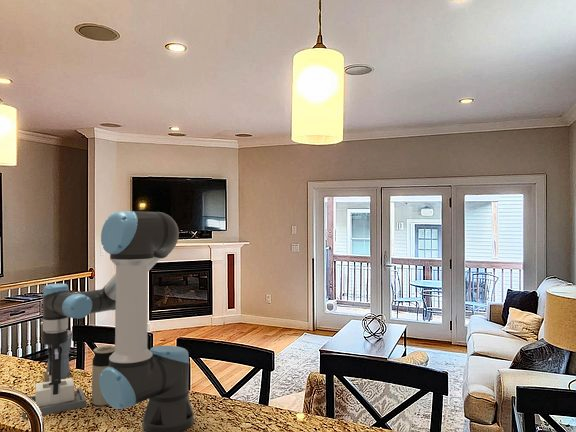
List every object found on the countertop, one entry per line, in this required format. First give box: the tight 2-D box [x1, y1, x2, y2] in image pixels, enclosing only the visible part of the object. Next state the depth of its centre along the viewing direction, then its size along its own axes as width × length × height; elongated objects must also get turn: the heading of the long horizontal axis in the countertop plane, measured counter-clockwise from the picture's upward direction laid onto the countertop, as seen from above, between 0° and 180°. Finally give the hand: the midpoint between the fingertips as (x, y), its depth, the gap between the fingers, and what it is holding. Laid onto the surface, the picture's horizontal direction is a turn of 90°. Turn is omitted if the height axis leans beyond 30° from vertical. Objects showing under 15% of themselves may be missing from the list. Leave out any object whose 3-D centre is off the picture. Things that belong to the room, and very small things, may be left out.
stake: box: [43, 371, 50, 382], centre depth 160 cm, size 3×3×7 cm
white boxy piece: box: [34, 377, 77, 407], centre depth 149 cm, size 12×8×5 cm, turn 122°
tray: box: [22, 387, 87, 419], centre depth 149 cm, size 13×18×2 cm
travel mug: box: [91, 345, 115, 407], centre depth 152 cm, size 8×8×18 cm
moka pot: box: [45, 329, 73, 380], centre depth 176 cm, size 10×15×20 cm, turn 60°
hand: (54, 398), depth 149 cm, fingers closed on white boxy piece, 8 cm apart
